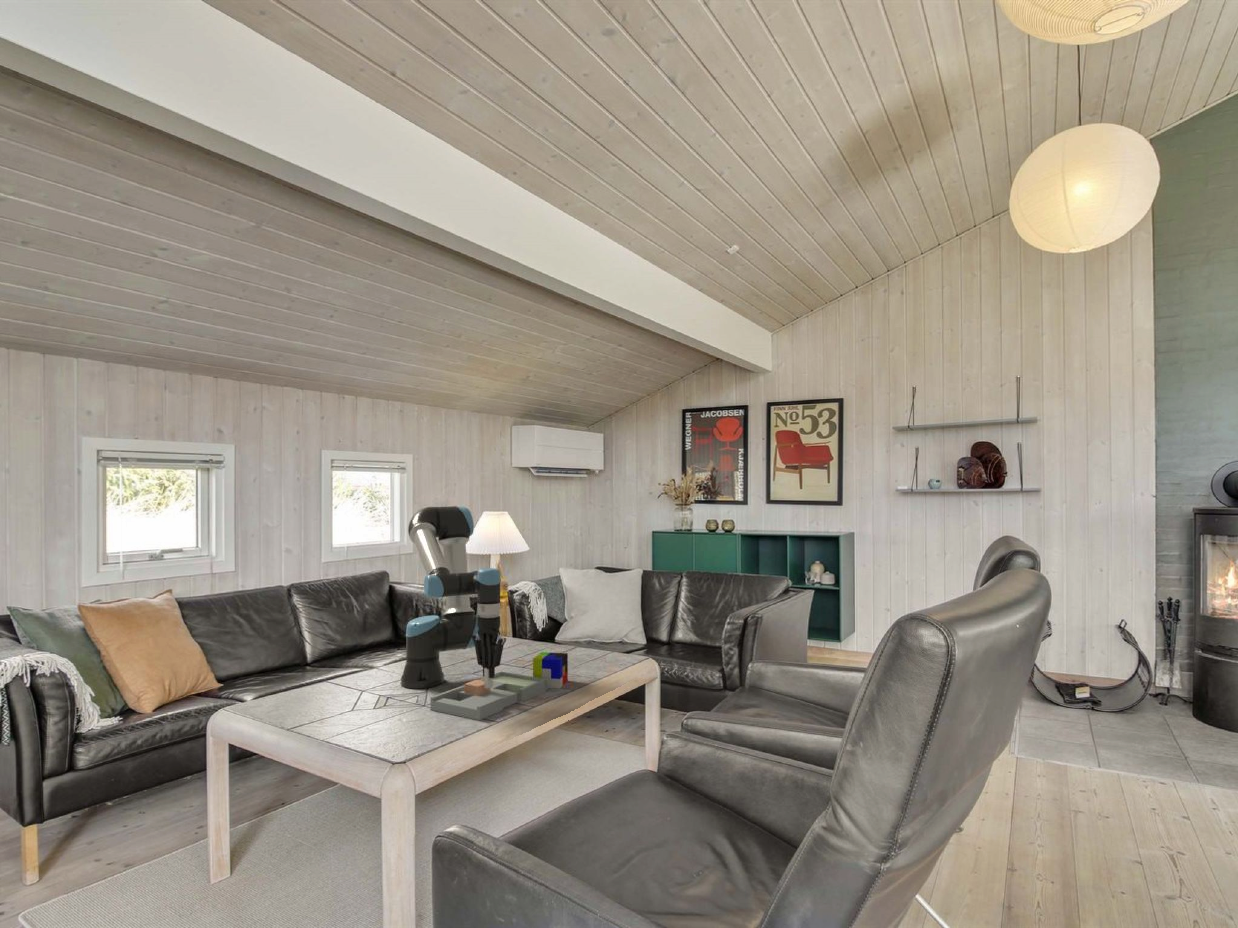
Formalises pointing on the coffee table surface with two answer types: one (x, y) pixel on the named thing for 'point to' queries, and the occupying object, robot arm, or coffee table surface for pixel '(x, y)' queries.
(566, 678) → the puzzle toy
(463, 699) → the trap box
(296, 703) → the coffee table surface
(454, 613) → the robot arm
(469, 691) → the block
